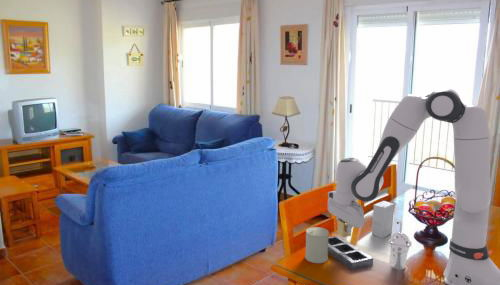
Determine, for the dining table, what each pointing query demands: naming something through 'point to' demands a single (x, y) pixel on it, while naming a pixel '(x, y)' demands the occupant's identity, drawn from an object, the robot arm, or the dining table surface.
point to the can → (316, 245)
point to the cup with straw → (399, 248)
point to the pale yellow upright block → (342, 228)
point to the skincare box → (382, 219)
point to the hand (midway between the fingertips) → (344, 229)
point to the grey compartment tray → (348, 253)
